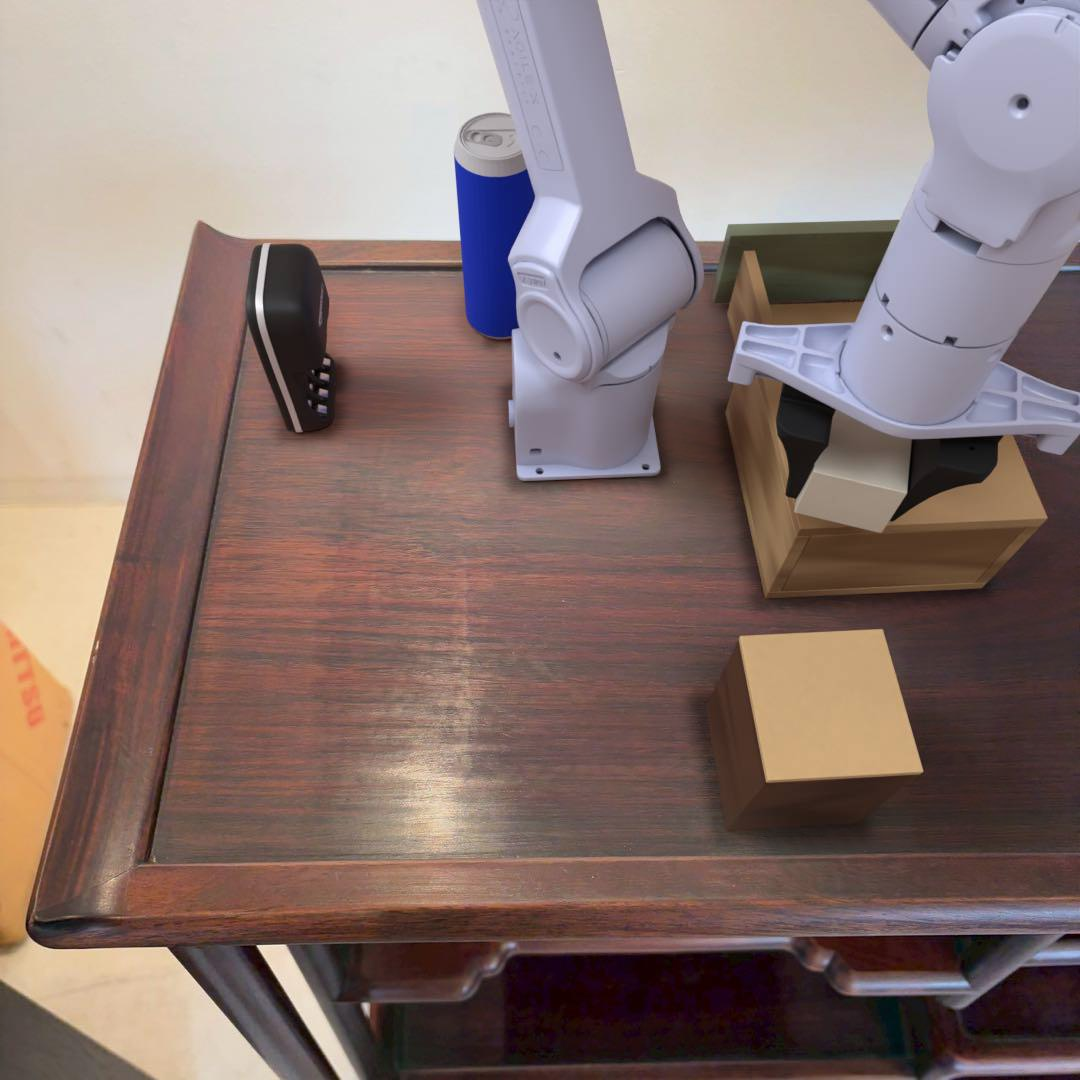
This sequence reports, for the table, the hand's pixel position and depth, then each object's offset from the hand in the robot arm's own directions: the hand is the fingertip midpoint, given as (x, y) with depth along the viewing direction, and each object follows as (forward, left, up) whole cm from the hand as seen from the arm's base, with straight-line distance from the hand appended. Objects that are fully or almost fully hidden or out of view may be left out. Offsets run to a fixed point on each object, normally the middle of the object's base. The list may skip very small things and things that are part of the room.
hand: (842, 493), depth 46 cm
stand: (-3, -11, -10) cm, 15 cm away
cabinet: (+5, +7, -10) cm, 13 cm away
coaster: (-3, -11, -1) cm, 11 cm away
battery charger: (-30, +17, -11) cm, 36 cm away
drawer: (+5, +19, -10) cm, 21 cm away
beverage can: (-17, +24, -11) cm, 31 cm away
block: (0, 0, 0) cm, 0 cm away
